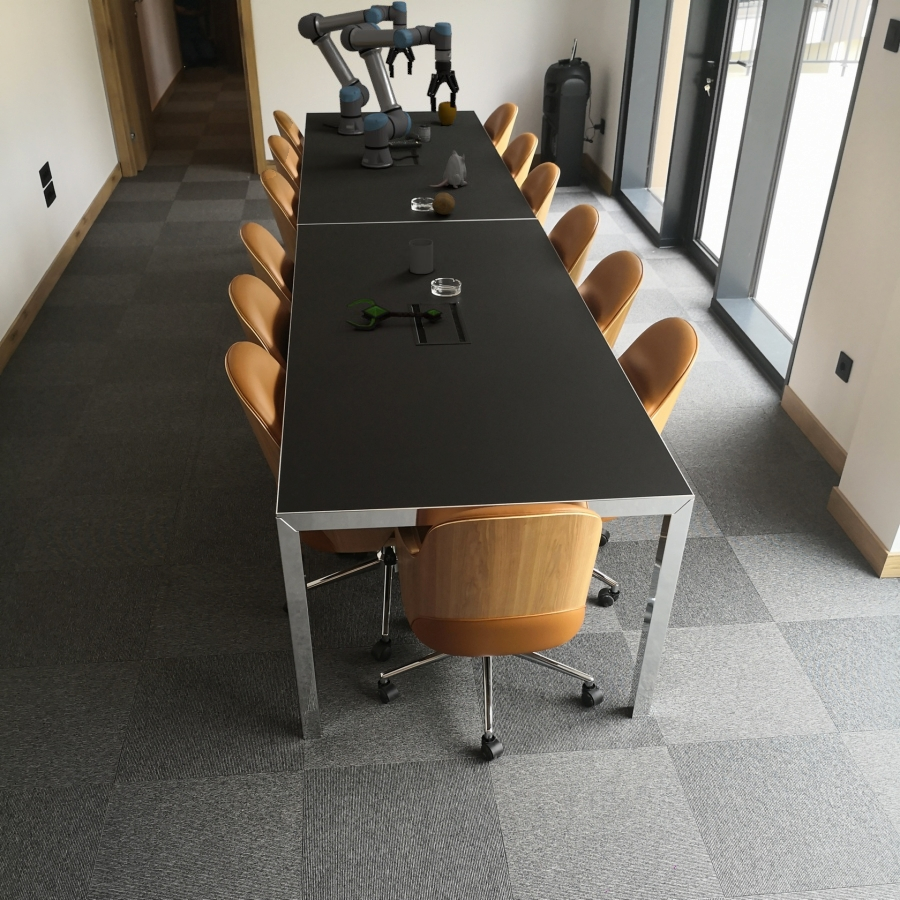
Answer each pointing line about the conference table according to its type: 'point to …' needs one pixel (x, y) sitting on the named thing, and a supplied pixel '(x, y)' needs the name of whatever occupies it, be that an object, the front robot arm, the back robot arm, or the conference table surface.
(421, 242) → the cup
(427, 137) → the camera lens
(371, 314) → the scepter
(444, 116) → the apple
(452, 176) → the toy
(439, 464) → the conference table surface
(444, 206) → the potato
